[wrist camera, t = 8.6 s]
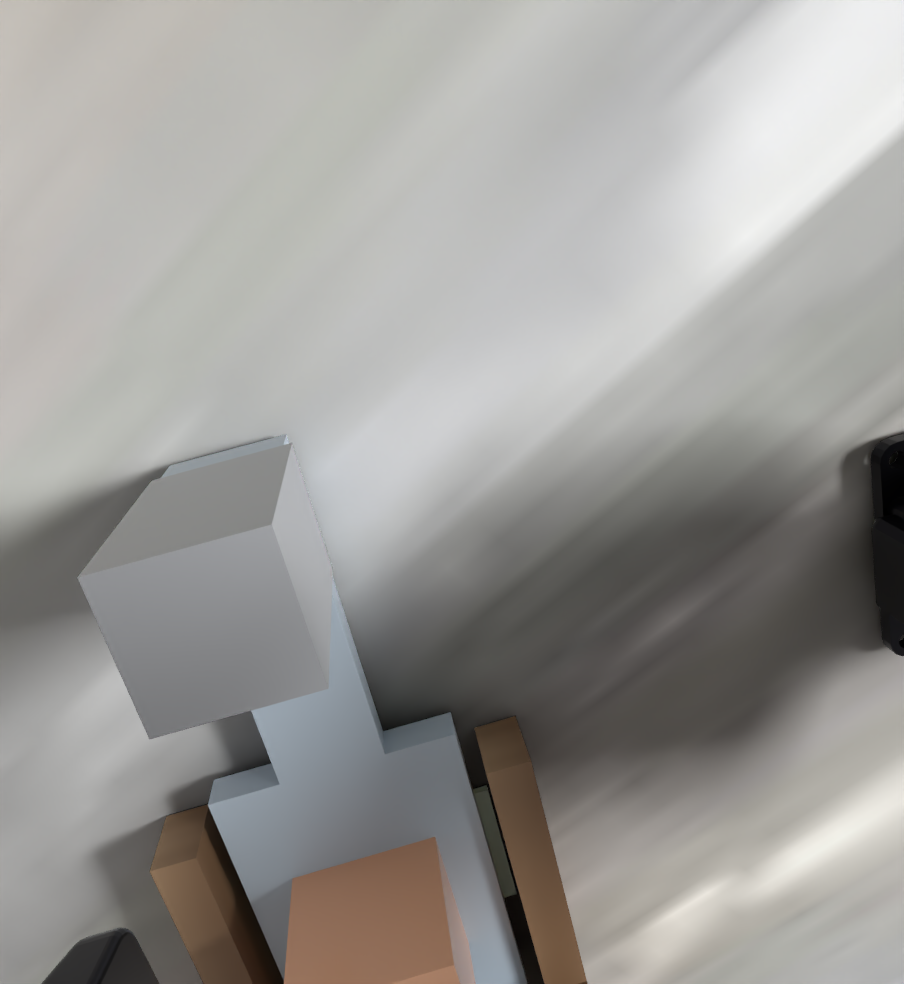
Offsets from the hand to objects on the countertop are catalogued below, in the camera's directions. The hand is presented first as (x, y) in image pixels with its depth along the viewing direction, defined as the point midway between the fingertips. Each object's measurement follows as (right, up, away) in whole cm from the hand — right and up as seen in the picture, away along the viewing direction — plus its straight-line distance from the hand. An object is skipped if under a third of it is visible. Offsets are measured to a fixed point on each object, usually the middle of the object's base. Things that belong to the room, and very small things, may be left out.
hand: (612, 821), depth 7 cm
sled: (-5, -4, +14) cm, 16 cm away
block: (-3, -9, +15) cm, 17 cm away
